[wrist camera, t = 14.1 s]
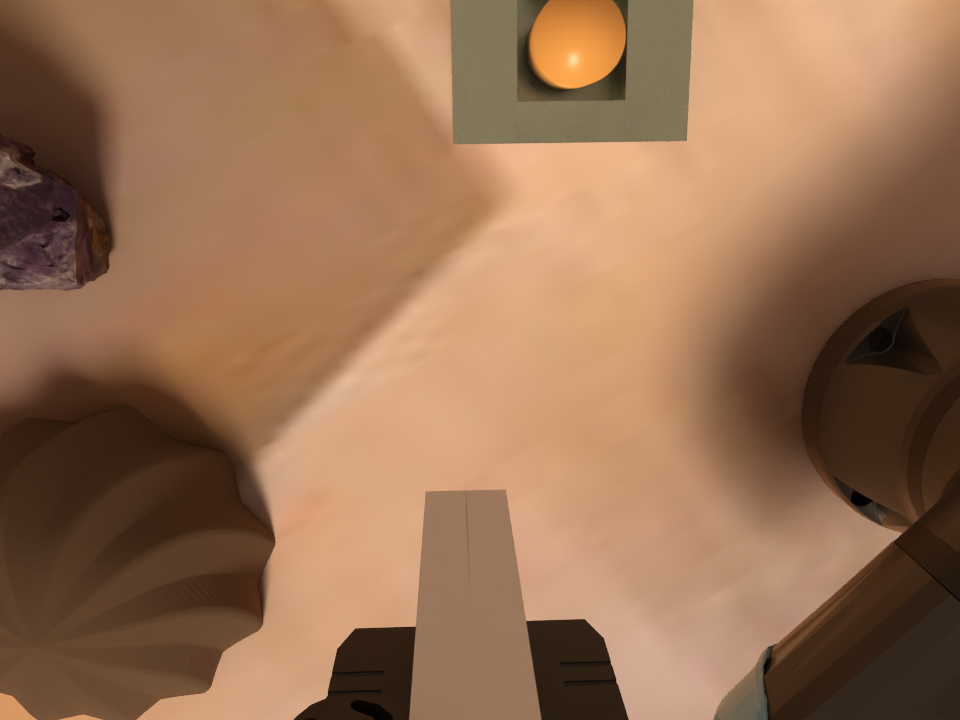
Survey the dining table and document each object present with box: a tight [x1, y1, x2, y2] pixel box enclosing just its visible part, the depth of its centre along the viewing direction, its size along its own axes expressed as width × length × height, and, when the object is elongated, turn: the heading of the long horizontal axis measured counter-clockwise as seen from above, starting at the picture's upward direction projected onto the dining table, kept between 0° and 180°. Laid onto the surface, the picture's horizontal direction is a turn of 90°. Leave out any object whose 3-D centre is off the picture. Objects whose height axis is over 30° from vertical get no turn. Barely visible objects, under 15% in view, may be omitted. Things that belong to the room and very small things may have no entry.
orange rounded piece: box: [525, 0, 626, 91], centre depth 35 cm, size 4×4×4 cm
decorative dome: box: [0, 406, 275, 720], centre depth 46 cm, size 19×20×10 cm
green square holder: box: [450, 0, 693, 144], centre depth 39 cm, size 10×8×10 cm
